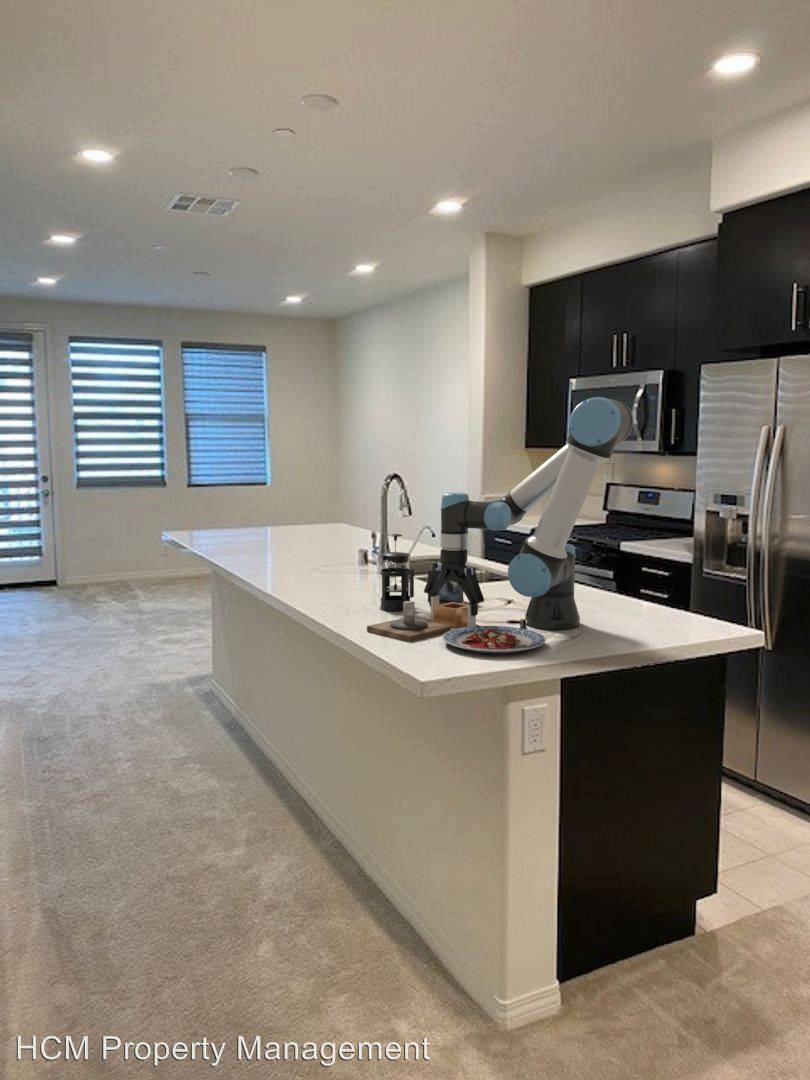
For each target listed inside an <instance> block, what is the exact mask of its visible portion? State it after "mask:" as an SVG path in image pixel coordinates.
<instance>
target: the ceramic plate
mask: <svg viewBox="0 0 810 1080" xmlns="http://www.w3.org/2000/svg"><path fill="white" fill-rule="evenodd" d="M442 640H443V641H444V642H445V643H446V644H448V645H449V646H453V647H456V648H458V649H459V648H460V649H464V650H467V651H470V652H475V653H480V654H490V653H494V654H495V655H496V654H497V655H498V654H499V655H500V654H502V653H505V654H514V653H520V652H522V650H523V651H527V650H531V649H535V648H538V647H540V646H542V645H544V644H545V643H546V637H545V636H544V635H543V634H541V633H539V632H536V631H533V630H529V629H526V628H520V627H513V626H504V625H476V626H472V627H467V626H462V627H457V628H454V629H451V631H448V632H446V633H443V634H442ZM494 654H493V655H494Z"/></svg>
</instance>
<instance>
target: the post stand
mask: <svg viewBox="0 0 810 1080" xmlns="http://www.w3.org/2000/svg"><path fill="white" fill-rule="evenodd" d="M415 609H416V606H415V601H411V600H410V601H405V602H403V611H402V613H403V616H402V618H398V619H393V620H388V621H383V622H379V623H376V624H375V623H374V624H370V625H366V632H368V633H372V634H376V635H380V636H384V637H388V638H392V639H396V640H399V641H403V642H408V643H410V642H415V641H418V640H422V639H427V638H430V637H434V636H437V635H444V634H445V633H446V632H448V631H451V630H452V627H451V626H448V625H443V624H439V623H434V621H429V620H424V619H419V618H416V615H415V611H416V610H415Z"/></svg>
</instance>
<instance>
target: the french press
mask: <svg viewBox="0 0 810 1080" xmlns="http://www.w3.org/2000/svg"><path fill="white" fill-rule="evenodd" d="M402 536H403V534H400V533H392V534H388V537H393V541H394V551H390V552H382V553H380V557H381V560H382V561H388V560H389V561H390V562H392V563H394V567H386V568H382V569H380V575H381V597H380V607H379V610H381V611H384V612H390V613H392V612H396V613H398V612H400V613H401V612H403V602H405V601H411V598H414V596H415V594H414V593H415V592H414V591H415V590H414V589H415V580H414V579H415V578H414V577H415V575H414V574H415V570H414V569H412V568H405V567H397V564H402V563H405V564H406V563H408V562H409V560H410V558H409V557H410V556H411V553H408V552H403V551H397V541H398V537H402ZM392 577H393V578H394V584H393V585H391V578H392ZM397 577H399V578H401V579H400V580H401V582H400V585H397ZM391 593H401V594H399V595H397V594H396V595H395V594H394V595H393V594H391Z"/></svg>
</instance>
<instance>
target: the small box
mask: <svg viewBox="0 0 810 1080" xmlns="http://www.w3.org/2000/svg"><path fill="white" fill-rule="evenodd" d="M432 568H433V567H431V568H430V569H428V570H427V580H428V579H429V577H430V575H431V572H432ZM442 573H443V572H442V570H441V572H440V575H439V577H440V576H441V574H442ZM439 577H438V579H437V581H438V580H439ZM462 580H463V579H462ZM436 596H439V604H440V603H441V604H446V603H450V602H456V603H461V604H462V603H463V602H464V591H463V590H462V588H461V586H460V585H459V584H458V583H457V582H452V581H447V582H446V583H445V584H444V586H443V587H442V588H441V590H440V591H439V592H438V595H436ZM429 599H430V597H429V594H427V602H430V601H429Z"/></svg>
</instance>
